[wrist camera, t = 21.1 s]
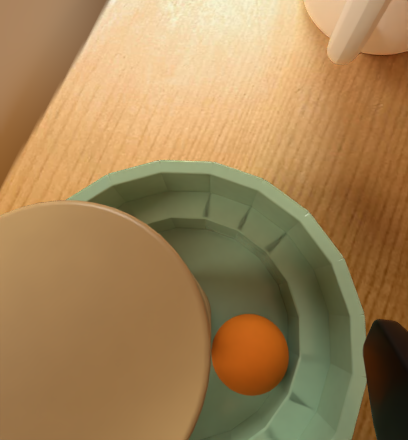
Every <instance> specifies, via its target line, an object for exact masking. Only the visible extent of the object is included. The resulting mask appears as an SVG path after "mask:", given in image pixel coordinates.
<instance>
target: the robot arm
mask: <svg viewBox="0 0 408 440" xmlns="http://www.w3.org/2000/svg"><path fill="white" fill-rule="evenodd" d="M363 359H364V366H365V372H366V379H367V385H368V392H369V399H370V405H371V412H372V418H373V423H374V428H375V432H376V437H377V440H408V331H407V330H406V329H405V328H403V327H402V326H401V325H400V324H399V323H398V322H396V321H392V320H383V319H377V320H375V321H374V322H373V324H372V326H371V329H370V331H369V333H368V335H367V338H366V340H365V342H364V345H363Z"/></svg>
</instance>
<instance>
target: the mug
mask: <svg viewBox="0 0 408 440" xmlns="http://www.w3.org/2000/svg"><path fill="white" fill-rule="evenodd" d="M303 1H304V5H305V8H306V10H307V12H308V14H309V16H310V18H311V19H312V21H313V22H314V24H315V25H316V26H317V27H318V28H319V29H320V30H321V31H322V32H323V33H324V34H325V35H326V36H327V37H329V38H330V40H329V43H328V47H327V55H328V57H329V59H330V60H331V61H332V62H333V63H335V64H338V65H345V64H348V63H350V62H351V61H353V60H354V59H355V58H356V57H357V56H358V54H359V53H360V52H361V53H366V54H372V55H391V54H397V53H403V52H406V51H408V0H303Z"/></svg>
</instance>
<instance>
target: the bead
mask: <svg viewBox="0 0 408 440" xmlns="http://www.w3.org/2000/svg"><path fill="white" fill-rule="evenodd" d="M211 357H212V363H213V367H214V369H215V372H216V374H217V375H218V377H219V379H220V380H221V381H222V382H223V383H224V384H225V385H226V386H227V387H228V388H230V389H231V390H233V391H234V392H237V393H239V394H242V395H248V396H256V395H261V394H264V393H267V392H269V391H270V390H272V389H273V388H275V387H276V386H277V385H278V384H279V383H280V381H281V380H282V379H283V377H284V375H285V373H286V371H287V367H288V362H289V351H288V346H287V342H286V340H285V337H284V335H283V334H282V332H281V331H280V329H279V328H278V327H277V326H276V325H275V324H274V323H273V322H271V321H270V320H268V319H267V318H265V317H262V316H260V315H256V314H242V315H238V316H235V317H233V318H231V319H229V320H228V321H226V322H225V323H224V324H223V325H222V326H221V327H220V328H219V330H218V331H217V333H216V335H215V337H214V340H213V343H212V349H211Z"/></svg>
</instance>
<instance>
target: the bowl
mask: <svg viewBox="0 0 408 440" xmlns="http://www.w3.org/2000/svg"><path fill="white" fill-rule="evenodd" d="M66 200H78V201H86V202H93V203H98V204H102V205H106V206H109V207H113V208H116V209H118V210H120V211H123V212H125V213H128V214H130V215H132V216H134V217H135V218H137V219H139V220H140V221H142V222H144V223H146V224H147V225H148V226H150V227H151V228H152V229H153V230H155V231H156V232H157V233H159V234H160V235H161V236H162V237H163V238H164V239H165V240H166V241H167V242H168V243H169V244H170V245H171V246H172V247H173V248H174V249H175V250H176V252H177V253H178V255H179V256H180V257H181V259H182V260H183V261H184V263H185V264H186V265H187V267H188V268H189V270H190V271H191V273H192V274H193V276H194V277H195V279H196V280H197V282H198V283H199V285H200V286H201V288H202V289H203V291H204V292H205V294H206V296H207V297H208V300H209V303H210V307H211V349H212V343H213V340H214V337H215V335H216V333H217V331H218V330H219V328H220V327H221V326H222V325H223V324H224V323H225V322H226V321H228V320H229V319H231V318H233V317H235V316H238V315H242V314H256V315H260V316H262V317H265V318H267V319H268V320H270V321H271V322H273V323H274V324H275V325H276V326H277V327H278V328H279V329H280V331H281V332H282V334H283V335H284V337H285V340H286V342H287V346H288V351H289V362H288V367H287V371H286V373H285V375H284V377H283V379H282V380H281V381H280V383H279V384H278V385H277V386H276V387H275V388H273V389H272V390H270V391H269V392H267V393H264V394H261V395H256V396H248V395H242V394H239V393H237V392H234V391H233V390H231V389H230V388H228V387H227V386H226V385H225V384H224V383H223V382H222V381H221V380H220V379H219V377H218V375H217V374H216V372H215V369H214V367H213V363H212V357H211V367H210V375H209V383H208V388H207V392H206V396H205V400H204V404H203V408H202V411H201V413H200V416H199V418H198V421H197V423H196V426H195V428H194V431H193V432H192V434H191V436H190V438H189V440H352V437H353V433H354V429H355V425H356V421H357V418H358V414H359V410H360V406H361V402H362V398H363V395H364V391H365V387H366V383H367V379H366V372H365V366H364V359H363V345H364V342H365V340H366V328H365V315H364V311H363V308H362V305H361V303H360V300H359V297H358V294H357V292H356V289H355V286H354V283H353V281H352V278H351V275H350V272H349V270H348V267H347V264H346V261H345V259H344V258H343V256H342V254H341V253H340V252H339V250H338V249H337V248H336V246H335V245H334V244H333V243H332V241H331V240H330V239H329V237H328V236H327V235H326V233H325V232H324V231H323V229H322V228H321V227H320V225H319V224H318V223H317V221H316V220H315V219H314V217H313V216H312V215H311V213H309V211H308V210H306V209H305V208H304V207H302V206H301V205H299V204H298V203H297V202H295V201H294V200H293V199H291V198H290V197H288V196H287V195H286V194H284V193H283V192H282V191H280V190H279V189H277V188H276V187H275V186H273V185H272V184H271V183H269V182H268V181H266V180H264V179H263V178H260V177H257V176H254V175H251V174H248V173H245V172H242V171H239V170H237V169H234V168H231V167H228V166H225V165H222V164H219V163H216V162H209V161H177V160H160V161H159V160H158V161H154V162H150V163H147V164H143V165H139V166H135V167H132V168H128V169H124V170H121V171H117V172H113V173H110V174H108V175H105V176H104V177H102V178H100V179H99V180H97V181H96V182H94V183H92V184H91V185H89V186H87V187H86V188H84V189H83V190H81V191H79V192H78V193H76V194H75V195H73V196H71V197H70V198H68V199H66Z"/></svg>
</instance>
